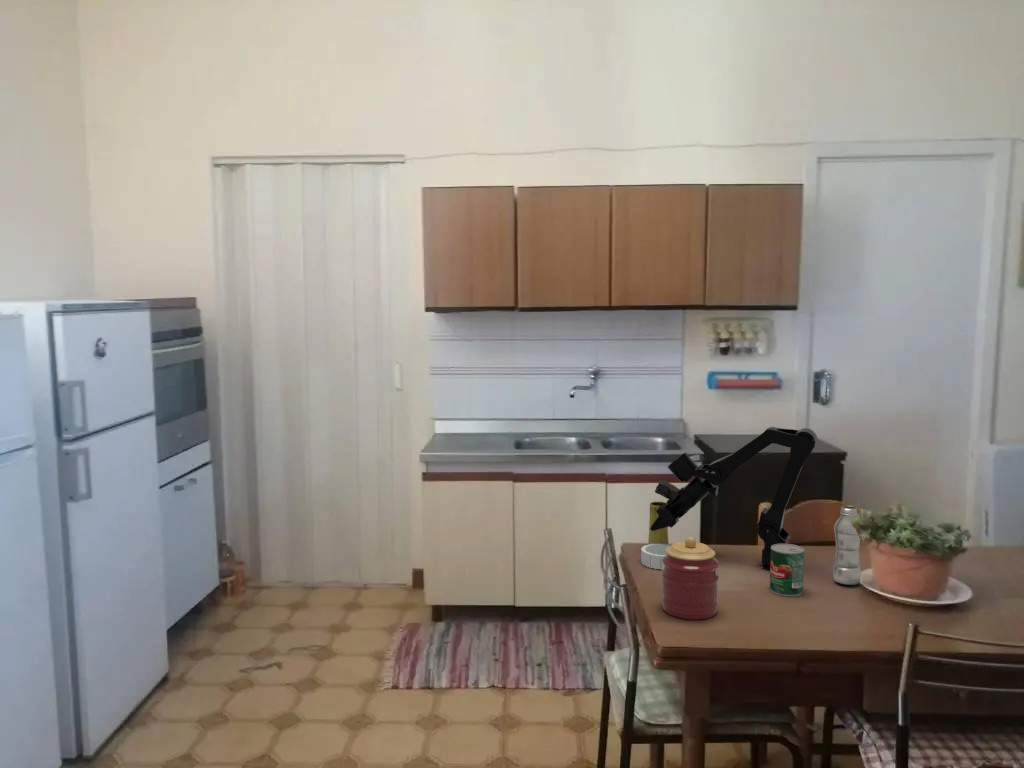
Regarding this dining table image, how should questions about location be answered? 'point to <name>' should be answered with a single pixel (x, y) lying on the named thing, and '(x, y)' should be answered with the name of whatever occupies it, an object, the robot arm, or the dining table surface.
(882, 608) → the dining table surface
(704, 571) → the canister
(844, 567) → the plastic bottle
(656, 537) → the vase
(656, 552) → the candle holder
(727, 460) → the robot arm
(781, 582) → the canned tomato
